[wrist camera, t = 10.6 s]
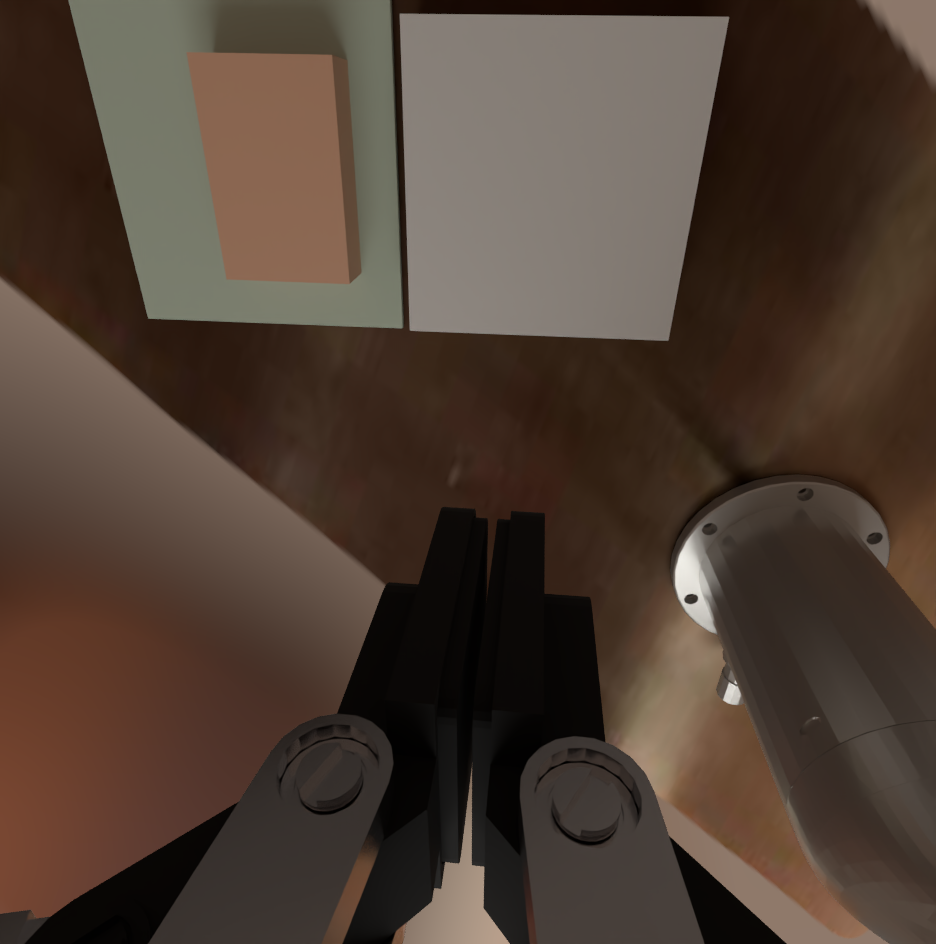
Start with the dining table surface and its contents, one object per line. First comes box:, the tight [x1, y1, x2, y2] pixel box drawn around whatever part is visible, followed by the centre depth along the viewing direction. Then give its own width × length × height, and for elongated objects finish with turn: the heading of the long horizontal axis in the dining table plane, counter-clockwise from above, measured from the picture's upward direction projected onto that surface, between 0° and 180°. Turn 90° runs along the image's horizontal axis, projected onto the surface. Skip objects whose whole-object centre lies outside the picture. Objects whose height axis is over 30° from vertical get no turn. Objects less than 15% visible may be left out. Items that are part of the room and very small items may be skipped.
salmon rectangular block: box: [186, 52, 362, 284], centre depth 28 cm, size 9×6×2 cm, turn 179°
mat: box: [68, 0, 404, 328], centre depth 29 cm, size 14×14×1 cm
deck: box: [400, 14, 729, 341], centre depth 27 cm, size 12×12×4 cm
